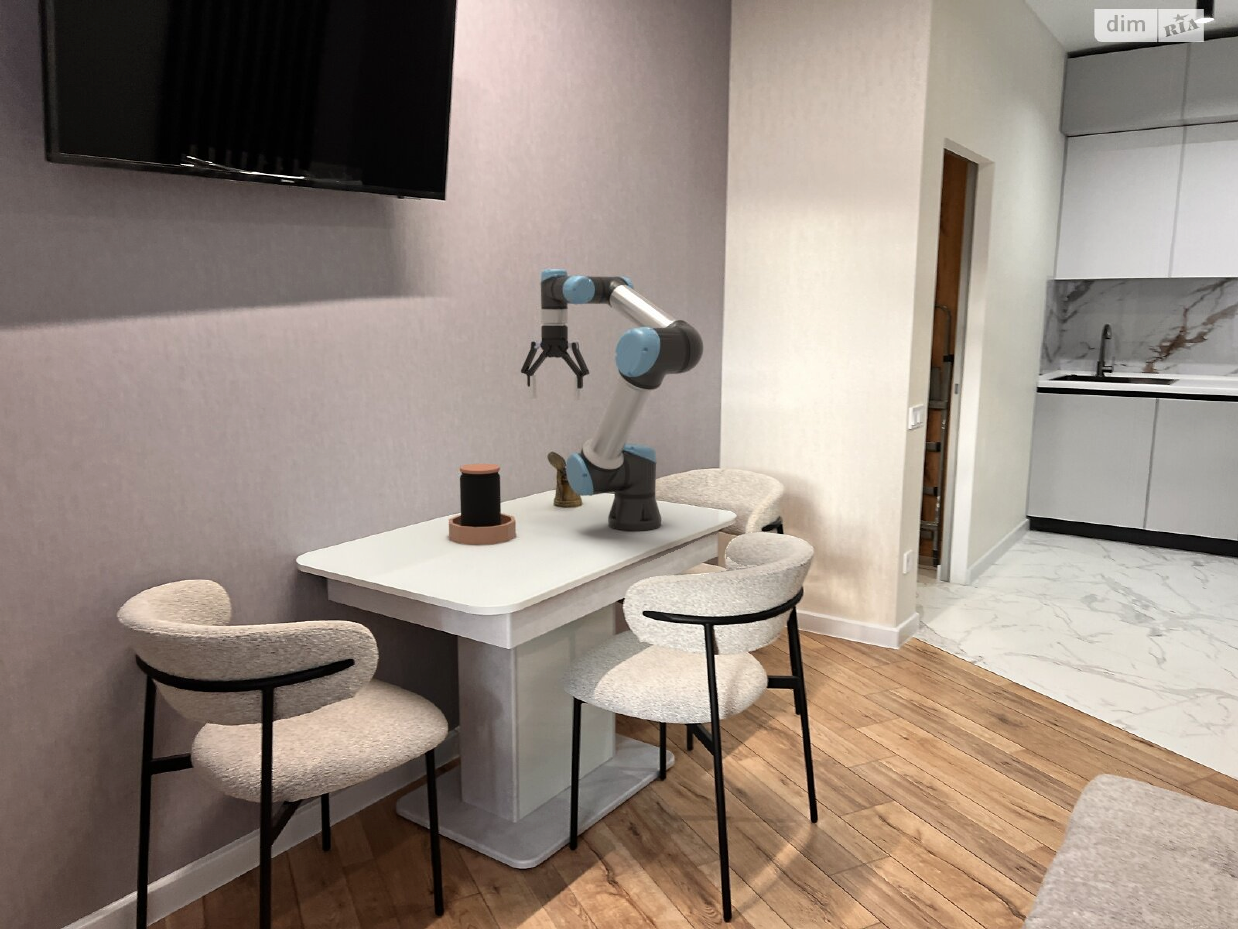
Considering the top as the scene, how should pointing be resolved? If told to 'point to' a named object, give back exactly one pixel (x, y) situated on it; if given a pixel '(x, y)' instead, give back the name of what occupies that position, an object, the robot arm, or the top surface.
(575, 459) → the robot arm
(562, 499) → the wooden mug
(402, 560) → the top surface
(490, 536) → the terracotta bowl
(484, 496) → the coffee jar
